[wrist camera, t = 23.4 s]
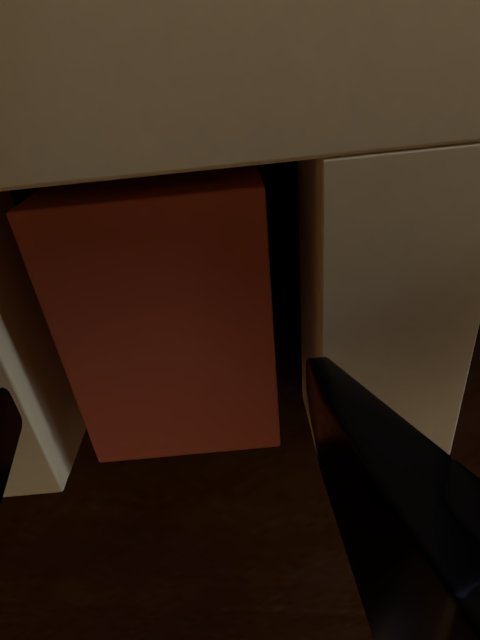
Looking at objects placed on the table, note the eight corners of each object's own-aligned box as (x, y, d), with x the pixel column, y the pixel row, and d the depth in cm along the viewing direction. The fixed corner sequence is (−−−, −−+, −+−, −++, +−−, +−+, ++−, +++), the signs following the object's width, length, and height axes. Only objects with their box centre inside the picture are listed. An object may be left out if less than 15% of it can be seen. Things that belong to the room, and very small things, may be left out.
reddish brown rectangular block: (56, 176, 11) (3, 212, 8) (254, 156, 11) (265, 185, 8) (120, 392, 14) (98, 463, 12) (270, 377, 14) (280, 446, 12)
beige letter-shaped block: (408, 385, 14) (450, 457, 12) (-13, 425, 14) (-63, 504, 12) (534, -512, 6) (771, -946, 3) (-448, -388, 6) (-925, -709, 4)
